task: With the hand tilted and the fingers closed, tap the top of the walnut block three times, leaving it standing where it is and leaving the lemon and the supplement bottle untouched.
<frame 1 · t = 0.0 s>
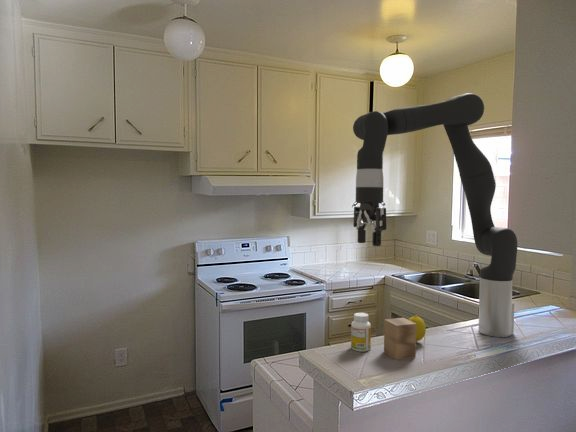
hand: (368, 244, 119), 29 cm above the counter, tool pointing down, fingers open, 8 cm apart
walnut block: (399, 354, 115), on the counter
lemon: (415, 343, 125), on the counter
supplement bottle: (360, 349, 120), on the counter
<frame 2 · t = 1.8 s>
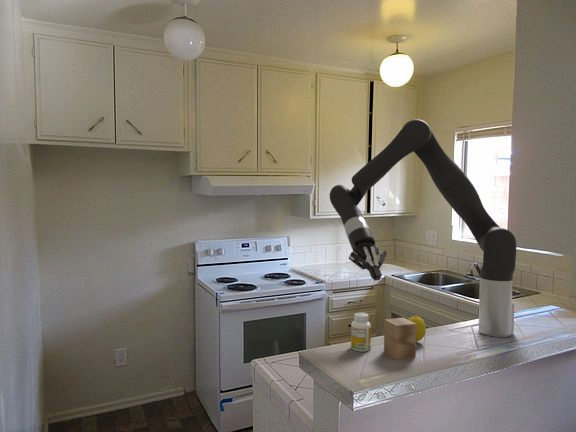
hand: (377, 278, 126), 18 cm above the counter, tool tilted 45°, fingers closed
nothing on the counter moved.
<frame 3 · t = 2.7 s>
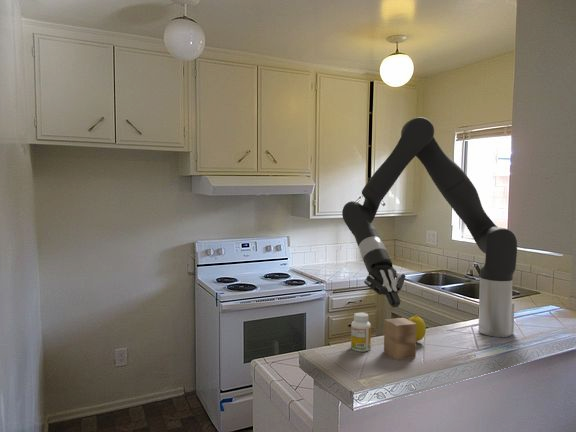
hand: (396, 305, 117), 13 cm above the counter, tool tilted 45°, fingers closed
nothing on the counter moved.
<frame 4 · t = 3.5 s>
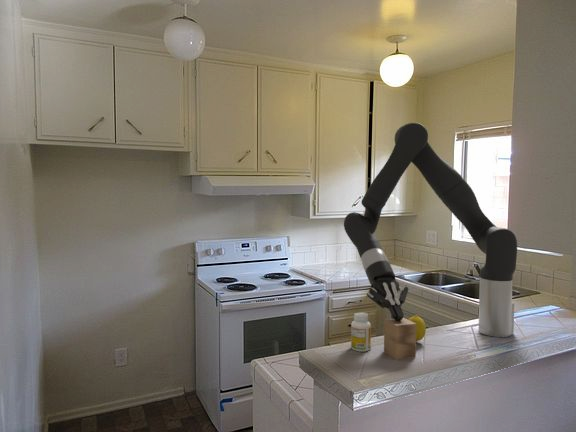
hand: (399, 319, 115), 10 cm above the counter, tool tilted 45°, fingers closed
walnut block: (399, 354, 115), on the counter, touching gripper
everything else where it was.
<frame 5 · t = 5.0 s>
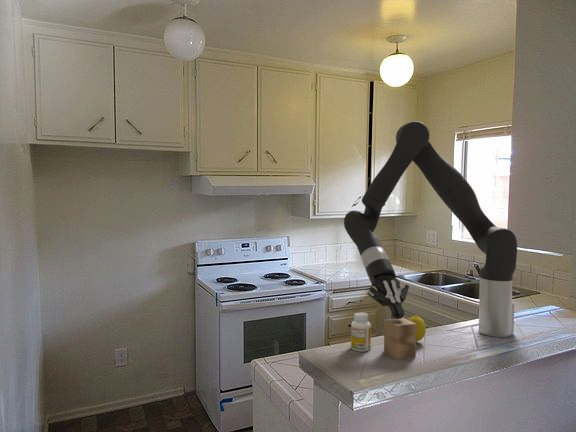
hand: (400, 317, 115), 10 cm above the counter, tool tilted 45°, fingers closed
walnut block: (399, 354, 115), on the counter
everything else where it was.
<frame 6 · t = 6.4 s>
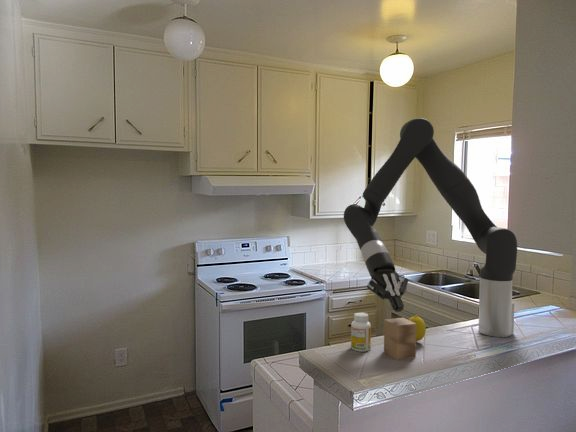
hand: (399, 310, 115), 12 cm above the counter, tool tilted 45°, fingers closed
nothing on the counter moved.
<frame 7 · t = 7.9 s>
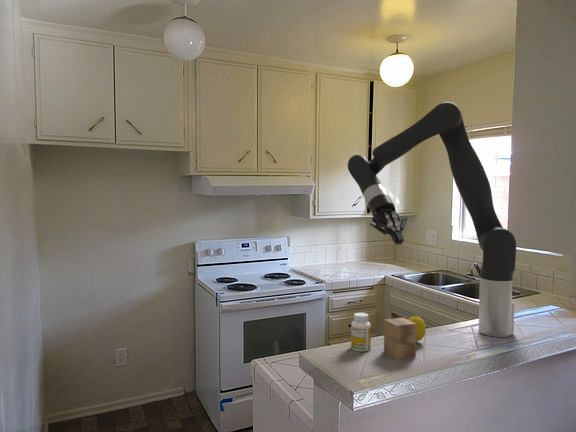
hand: (400, 242, 127), 29 cm above the counter, tool tilted 45°, fingers closed
nothing on the counter moved.
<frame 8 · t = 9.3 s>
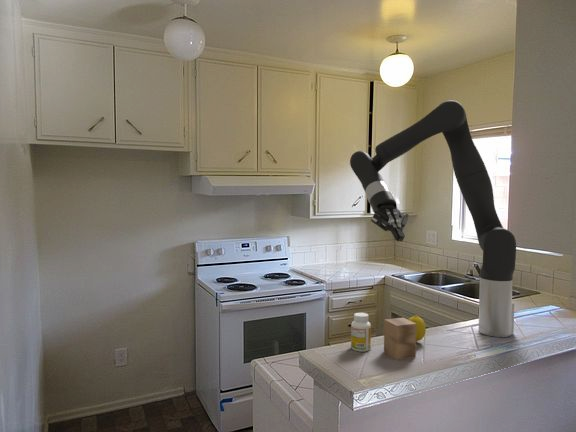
hand: (401, 239, 127), 30 cm above the counter, tool tilted 45°, fingers closed
nothing on the counter moved.
at the end: walnut block moved 0.1 cm from its start; walnut block tilted 0°; supplement bottle moved 0.2 cm from its start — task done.
